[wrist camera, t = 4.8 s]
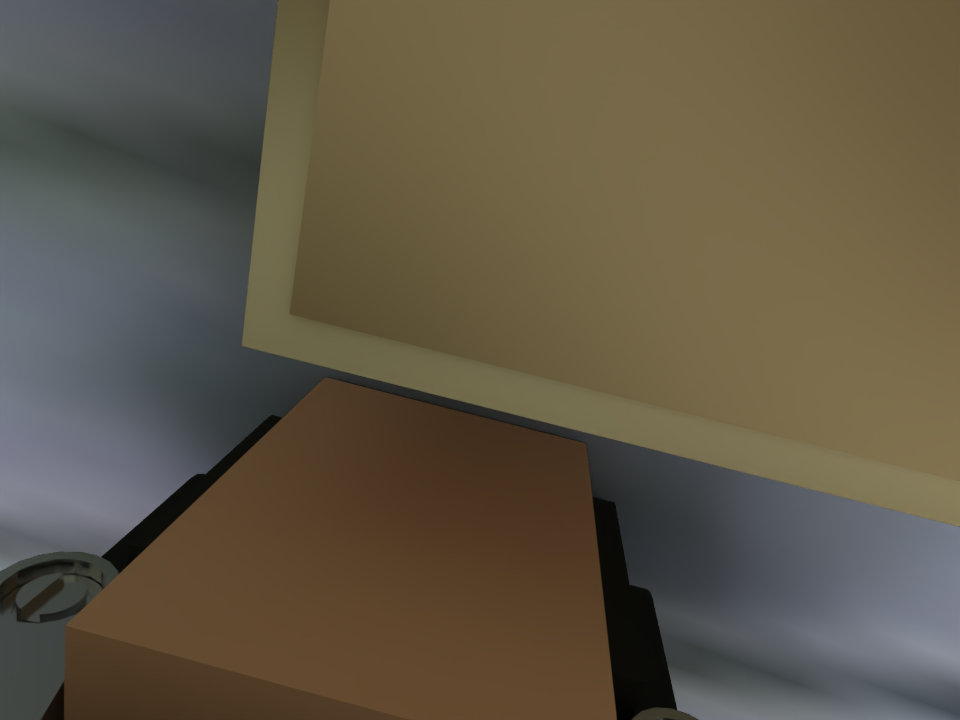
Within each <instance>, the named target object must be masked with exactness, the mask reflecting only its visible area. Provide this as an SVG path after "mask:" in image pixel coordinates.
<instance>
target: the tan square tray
mask: <svg viewBox="0 0 960 720" xmlns="http://www.w3.org/2000/svg"><path fill="white" fill-rule="evenodd" d="M242 346H244V347H248V348H252V349H256V350H260V351H264V352H268V353H272V354H276V355H279V356H283V357H287V358H291V359H295V360H299V361H303V362H307V363H311V364H315V365H319V366H323V367H327V368H331V369H335V370H339V371H343V372H347V373H351V374H355V375H359V376H363V377H367V378H371V379H375V380H379V381H383V382H387V383H391V384H395V385H399V386H403V387H407V388H411V389H415V390H419V391H422V392H426V393H430V394H434V395H438V396H442V397H446V398H450V399H454V400H458V401H462V402H466V403H470V404H474V405H478V406H482V407H486V408H490V409H494V410H498V411H502V412H506V413H510V414H514V415H518V416H522V417H526V418H530V419H534V420H538V421H542V422H546V423H550V424H554V425H558V426H562V427H565V428H569V429H573V430H577V431H581V432H585V433H589V434H593V435H597V436H601V437H605V438H609V439H613V440H617V441H621V442H625V443H629V444H633V445H637V446H641V447H645V448H649V449H653V450H657V451H661V452H665V453H669V454H673V455H677V456H681V457H685V458H689V459H693V460H697V461H701V462H705V463H708V464H712V465H716V466H720V467H724V468H728V469H732V470H736V471H740V472H744V473H748V474H752V475H756V476H760V477H764V478H768V479H772V480H776V481H780V482H784V483H788V484H792V485H796V486H800V487H804V488H808V489H812V490H816V491H820V492H824V493H828V494H832V495H836V496H840V497H844V498H848V499H851V500H855V501H859V502H863V503H867V504H871V505H875V506H879V507H883V508H887V509H891V510H895V511H899V512H903V513H907V514H911V515H915V516H919V517H923V518H927V519H931V520H935V521H939V522H943V523H947V524H951V525H955V526H959V527H960V0H278V6H277V16H276V25H275V35H274V44H273V54H272V63H271V73H270V82H269V92H268V101H267V111H266V120H265V130H264V139H263V149H262V158H261V167H260V177H259V186H258V196H257V205H256V215H255V224H254V234H253V243H252V253H251V262H250V272H249V281H248V291H247V300H246V310H245V319H244V329H243V338H242Z"/></svg>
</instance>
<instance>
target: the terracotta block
mask: <svg viewBox="0 0 960 720" xmlns="http://www.w3.org/2000/svg"><path fill="white" fill-rule="evenodd" d="M64 720H617V716H616V707H615V698H614V689H613V680H612V671H611V662H610V653H609V644H608V635H607V626H606V617H605V608H604V599H603V590H602V581H601V571H600V562H599V553H598V544H597V535H596V526H595V517H594V508H593V499H592V490H591V481H590V472H589V463H588V454H587V445H586V443H583V442H579V441H575V440H571V439H567V438H563V437H559V436H555V435H551V434H547V433H543V432H539V431H535V430H531V429H527V428H523V427H520V426H516V425H512V424H508V423H504V422H500V421H496V420H492V419H488V418H484V417H480V416H476V415H472V414H468V413H464V412H460V411H456V410H453V409H449V408H445V407H441V406H437V405H433V404H429V403H425V402H421V401H417V400H413V399H409V398H405V397H401V396H397V395H393V394H390V393H386V392H382V391H378V390H374V389H370V388H366V387H362V386H358V385H354V384H350V383H346V382H342V381H338V380H334V379H330V378H326V377H325V378H324V379H323V380H322V381H321V382H320V383H319V384H318V385H317V386H316V387H315V388H314V389H313V390H311V391H310V392H309V393H308V394H307V395H306V396H305V397H304V398H303V399H302V400H301V401H300V402H299V403H298V404H297V405H296V406H295V407H294V408H293V409H292V410H291V411H289V412H288V413H287V414H286V415H285V416H284V417H283V418H282V419H281V420H280V421H279V422H278V423H277V424H276V425H275V426H274V427H273V428H272V429H271V430H270V431H269V432H267V433H266V434H265V435H264V436H263V437H262V438H261V439H260V440H259V441H258V442H257V443H256V444H255V445H254V446H253V447H252V448H251V449H250V450H249V451H248V452H247V453H245V454H244V455H243V456H242V457H241V458H240V459H239V460H238V461H237V462H236V463H235V464H234V465H233V466H232V467H231V468H230V469H229V470H228V471H227V472H226V473H225V474H223V475H222V476H221V477H220V478H219V479H218V480H217V481H216V482H215V483H214V484H213V485H212V486H211V487H210V488H209V489H208V490H207V491H206V492H205V493H204V494H203V495H201V496H200V497H199V498H198V499H197V500H196V501H195V502H194V503H193V504H192V505H191V506H190V507H189V508H188V509H187V510H186V511H185V512H184V513H183V514H182V515H181V516H179V517H178V518H177V519H176V520H175V521H174V522H173V523H172V524H171V525H170V526H169V527H168V528H167V529H166V530H165V531H164V532H163V533H162V534H161V535H160V536H159V537H157V538H156V539H155V540H154V541H153V542H152V543H151V544H150V545H149V546H148V547H147V548H146V549H145V550H144V551H143V552H142V553H141V554H140V555H139V556H138V557H137V558H135V559H134V560H133V561H132V562H131V563H130V564H129V565H128V566H127V567H126V568H125V569H124V570H123V571H122V572H121V573H120V574H119V575H118V576H117V577H116V578H115V579H113V580H112V581H111V582H110V583H109V584H108V585H107V586H106V587H105V588H104V589H103V590H102V591H101V592H100V593H99V594H98V595H97V596H96V597H95V598H94V599H93V600H91V601H90V602H89V603H88V604H87V605H86V606H85V607H84V608H83V609H82V610H81V611H80V612H79V613H78V614H77V615H76V616H75V617H74V618H73V619H72V620H71V621H69V622H68V623H67V624H66V625H65V679H64Z"/></svg>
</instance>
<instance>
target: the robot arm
mask: <svg viewBox="0 0 960 720" xmlns="http://www.w3.org/2000/svg"><path fill="white" fill-rule="evenodd" d="M281 419H282V417H278V416H274V415H271V416H270V417H268V418H267V419H266V420H265V421H264V422H263V423H262V424H261V425H260V426H258V427H257V428H256V429H255V430H254V431H253V432H252V433H251V434H250V435H248V436H247V437H246V438H245V439H244V440H243V441H242V442H241V443H240V444H239V445H237V446H236V447H235V448H234V449H233V450H232V451H231V452H230V453H229V454H228V455H226V456H225V457H224V458H223V459H222V460H221V461H220V462H219V463H218V464H216V465H215V466H214V467H213V468H212V469H211V470H210V471H209V472H208V473H207V474H197V475H195V476H194V477H192V478H191V479H189V480H188V481H187V482H186V483H185V484H184V485H183V486H181V487H180V488H179V489H178V490H177V491H176V492H175V493H174V494H172V495H171V496H170V497H169V498H168V499H167V500H166V501H164V502H163V503H162V504H161V505H160V506H159V507H158V508H156V509H155V510H154V511H153V512H152V513H151V514H150V515H149V516H147V517H146V518H145V519H144V520H143V521H142V522H141V523H139V524H138V525H137V526H136V527H135V528H134V529H133V530H131V531H130V532H129V533H128V534H127V535H126V536H125V537H124V538H122V539H121V540H120V541H119V542H118V543H117V544H116V545H114V546H113V547H112V548H111V549H110V550H109V551H108V552H106V553H105V554H104V555H103V556H102V557H99V556H98V555H93V554H89V553H84V552H54V553H48V554H42V555H37V556H34V557H31V558H28V559H25V560H22V561H19V562H17V563H15V564H13V565H11V566H9V567H7V568H6V569H4V570H2V571H0V720H64V679H65V625H66V624H67V623H68V622H69V621H71V620H72V619H73V618H74V617H75V616H76V615H77V614H78V613H79V612H80V611H81V610H82V609H83V608H84V607H85V606H86V605H87V604H88V603H89V602H90V601H91V600H93V599H94V598H95V597H96V596H97V595H98V594H99V593H100V592H101V591H102V590H103V589H104V588H105V587H106V586H107V585H108V584H109V583H110V582H111V581H112V580H113V579H115V578H116V577H117V576H118V575H119V574H120V573H121V572H122V571H123V570H124V569H125V568H126V567H127V566H128V565H129V564H130V563H131V562H132V561H133V560H134V559H135V558H137V557H138V556H139V555H140V554H141V553H142V552H143V551H144V550H145V549H146V548H147V547H148V546H149V545H150V544H151V543H152V542H153V541H154V540H155V539H156V538H157V537H159V536H160V535H161V534H162V533H163V532H164V531H165V530H166V529H167V528H168V527H169V526H170V525H171V524H172V523H173V522H174V521H175V520H176V519H177V518H178V517H179V516H181V515H182V514H183V513H184V512H185V511H186V510H187V509H188V508H189V507H190V506H191V505H192V504H193V503H194V502H195V501H196V500H197V499H198V498H199V497H200V496H201V495H203V494H204V493H205V492H206V491H207V490H208V489H209V488H210V487H211V486H212V485H213V484H214V483H215V482H216V481H217V480H218V479H219V478H220V477H221V476H222V475H223V474H225V473H226V472H227V471H228V470H229V469H230V468H231V467H232V466H233V465H234V464H235V463H236V462H237V461H238V460H239V459H240V458H241V457H242V456H243V455H244V454H245V453H247V452H248V451H249V450H250V449H251V448H252V447H253V446H254V445H255V444H256V443H257V442H258V441H259V440H260V439H261V438H262V437H263V436H264V435H265V434H266V433H267V432H269V431H270V430H271V429H272V428H273V427H274V426H275V425H276V424H277V423H278V422H279V421H280V420H281ZM592 499H593V508H594V517H595V526H596V535H597V544H598V553H599V562H600V571H601V581H602V590H603V599H604V608H605V617H606V626H607V635H608V644H609V653H610V662H611V671H612V680H613V689H614V698H615V707H616V716H617V720H698V719H696V718H695V717H693V716H691V715H689V714H687V713H683V712H680V711H677V707H676V702H675V698H674V693H673V689H672V684H671V680H670V675H669V671H668V666H667V662H666V657H665V653H664V648H663V644H662V639H661V635H660V630H659V626H658V621H657V617H656V612H655V607H654V603H653V598H652V596H651V593H650V591H648V590H647V589H644V588H640V587H636V586H632V585H629V580H628V574H627V568H626V563H625V557H624V551H623V546H622V540H621V534H620V528H619V523H618V517H617V511H616V505H615V503H614V502H611V501H607V500H603V499H599V498H595V497H592Z"/></svg>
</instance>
